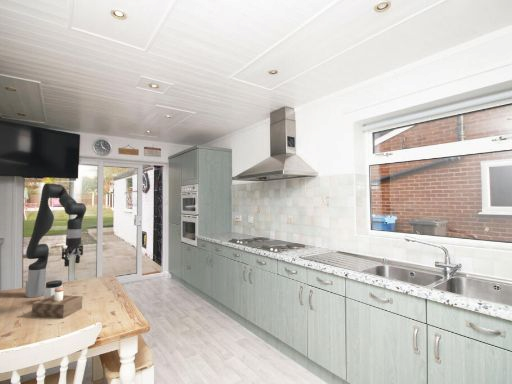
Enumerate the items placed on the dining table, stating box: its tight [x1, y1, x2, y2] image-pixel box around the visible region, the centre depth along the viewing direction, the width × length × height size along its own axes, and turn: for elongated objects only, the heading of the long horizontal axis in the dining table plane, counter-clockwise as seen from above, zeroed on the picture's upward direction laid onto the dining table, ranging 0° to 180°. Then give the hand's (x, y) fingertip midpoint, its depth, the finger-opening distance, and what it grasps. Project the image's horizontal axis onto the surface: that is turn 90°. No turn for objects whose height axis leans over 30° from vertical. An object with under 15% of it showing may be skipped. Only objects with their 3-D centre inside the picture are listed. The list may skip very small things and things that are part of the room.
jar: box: [43, 279, 63, 299], centre depth 169 cm, size 9×8×12 cm
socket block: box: [31, 294, 84, 319], centre depth 153 cm, size 18×14×7 cm
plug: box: [54, 286, 64, 301], centre depth 153 cm, size 4×4×13 cm
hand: (72, 264), depth 160 cm, fingers open, 8 cm apart
